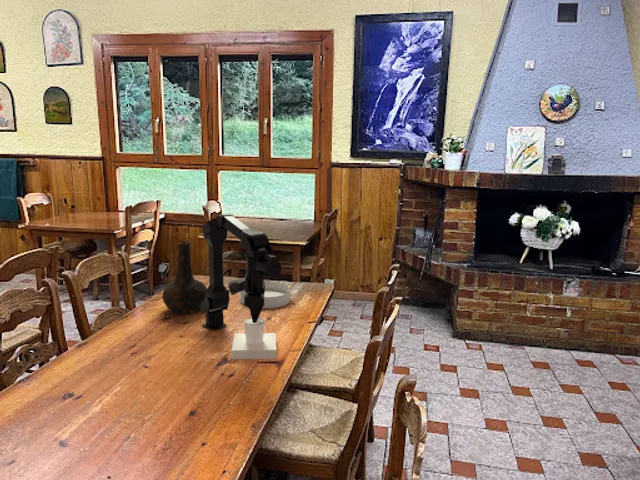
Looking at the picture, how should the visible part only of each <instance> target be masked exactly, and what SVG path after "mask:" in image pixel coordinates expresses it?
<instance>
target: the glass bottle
mask: <svg viewBox="0 0 640 480" xmlns="http://www.w3.org/2000/svg"><path fill="white" fill-rule="evenodd" d="M177 244H178V246H176V249H178V256H177V268H176V275H175V278H174V280H173V281H171V282H169V283H168V284H167V285H166V286H165V287H164V289H163V291H162V300H163V303H164V305H165V307H166V308H167V309H169V310H170V311H171V312H173V313H176V314H181V315H182V314H183V315H185V314H191V313H194V312H198V311H199V310H201V307H200V305H201V304H202V302H203V301H204V299H205V292H206V290H207V288H208V287H207V286H206V284H205V283H203V282H202V281H200V280H199V279H195V277H194V276H193V269H192V264H191V263H192V262H191V249H192V248H193V246H191V242H189V241H180V242H178V243H177Z"/></svg>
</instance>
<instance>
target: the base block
mask: <svg viewBox="0 0 640 480" xmlns="http://www.w3.org/2000/svg"><path fill="white" fill-rule="evenodd" d="M276 335H277V334H276V332H264V336H263V342H262V343H261V344H256V345H252V344H248V343H247V342H246V337H245V332H244V333H243V332H240V333H239V332H235V333H234V337H233V339H232V340H233V341H232V346H231V360H273V359H274V360H276V359H277V336H276Z"/></svg>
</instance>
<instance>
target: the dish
mask: <svg viewBox="0 0 640 480" xmlns="http://www.w3.org/2000/svg"><path fill="white" fill-rule="evenodd" d="M264 282H265V281H264ZM246 294H247V292H245V290H244V291H241V292H239V302H240V303H241V304H242V305H244V297H245V295H246ZM264 296H265V299H264V306H263V308H262V309H273V308H279V307H284V306H286V305H288V304H289V303H290V302H291V288H290V287H289V286H288V285H285V284H282V283H277V282H265V293H264Z"/></svg>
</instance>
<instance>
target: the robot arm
mask: <svg viewBox="0 0 640 480" xmlns="http://www.w3.org/2000/svg"><path fill="white" fill-rule="evenodd" d="M201 230H202V233H203V239H204V241H205V242H206V244H207V245H208V266H209V268H208V270H209V271H208V272H209V273H208V274H209V285H208V287H207V290H206V292H205V299H204V301H203V302H202V304H201V305H200V307H201V308H200V311H201V312H203V313H204V314H205V323H203V324H202V326H203V327H204V328H207V329H209V330H211V331H215V330H218V329H222V328H224V327H227V324H226V323H224V321H225V320H224V319H225V318H224V311H225V310H228V309H229V308H228V307H229V304H230V294H231V296H233V295H236V294H238V293H240V292H241V291H244V290H245V292H247V294H246V295H245V297H244V304H243V305H244V306H245V308H247V309H249V312H250V316H251V317H250V318H252V321H253V323H256V322H257V320H258V318H260V315H261V313H262V310H263V309H264V308H263V306H264V299H265V296H264V293H265V277H267V278H270V279H276V278H278V277H279V276H280V275H281V272H282V269H283V267H282V264H281V262H280V261H278V260H277V259H278V258H277V255H274V254H275V253H274V250H273V247H272V245H271V242H270V241H269V238H268V235H267V234H266V233H265V232H263V231H261V230H258V229H253V228H250V227H248V226H247V225H246V224H244V223H243V222H242V221H241V220H239V219H237V217H235V215H234V214H231V213H223V214H222V213H221V214H219V215H217V216H216V217H214V218H212V219H209V220H208V221H205V222H204V224H203V225H202V229H201ZM228 232H229V233H230V234H231V235H233V236H235V238H237V239H239V240H240V245H241V247H242V248H243V249H244V250H245V251H244V252H243V253H242V255H243V256H244V257H246V264H245V265H246V266H245V267H246V269H245V270H246V273H245V277H242V278H239V279H235V280H233V281H230V282H229V283H228V284H227V286H228V289H227V287H226V286H225V284H224V250H223V249H224V248H223V246H224V244H225V242H226V241H227V239H228Z"/></svg>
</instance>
